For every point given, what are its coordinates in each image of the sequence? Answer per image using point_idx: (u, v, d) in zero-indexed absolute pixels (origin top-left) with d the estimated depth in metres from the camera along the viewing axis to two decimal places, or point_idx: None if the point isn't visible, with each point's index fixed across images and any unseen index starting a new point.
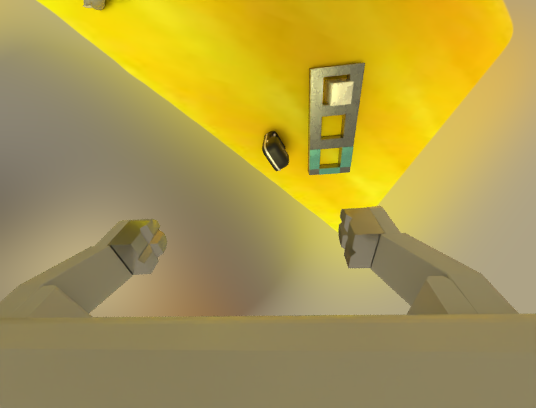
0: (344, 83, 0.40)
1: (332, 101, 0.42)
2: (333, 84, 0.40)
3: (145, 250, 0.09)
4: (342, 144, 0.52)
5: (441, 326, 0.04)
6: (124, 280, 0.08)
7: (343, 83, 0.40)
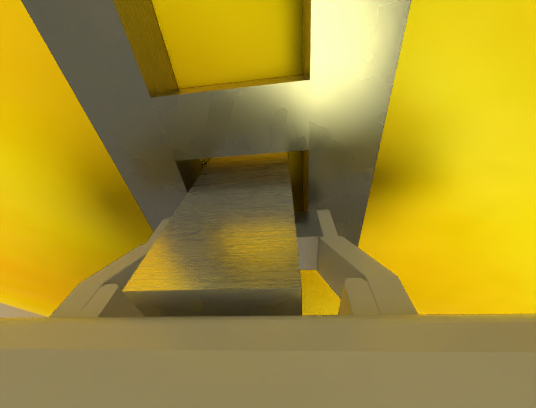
0: None
1: (290, 308, 0.05)
2: None
3: None
4: None
5: (441, 326, 0.04)
6: None
7: None
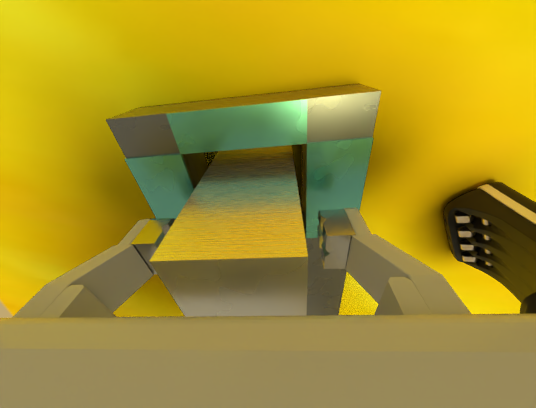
0: None
1: (297, 277, 0.05)
2: None
3: None
4: None
5: (441, 326, 0.04)
6: (145, 279, 0.08)
7: None
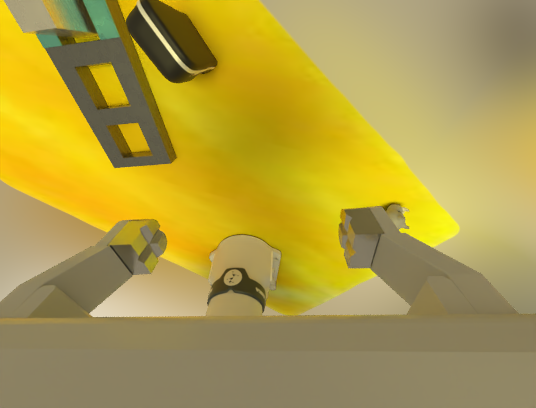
0: (36, 28, 0.22)
1: None
2: (54, 26, 0.22)
3: (145, 250, 0.09)
4: (66, 52, 0.28)
5: (441, 326, 0.04)
6: (124, 280, 0.08)
7: (37, 28, 0.22)
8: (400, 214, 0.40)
